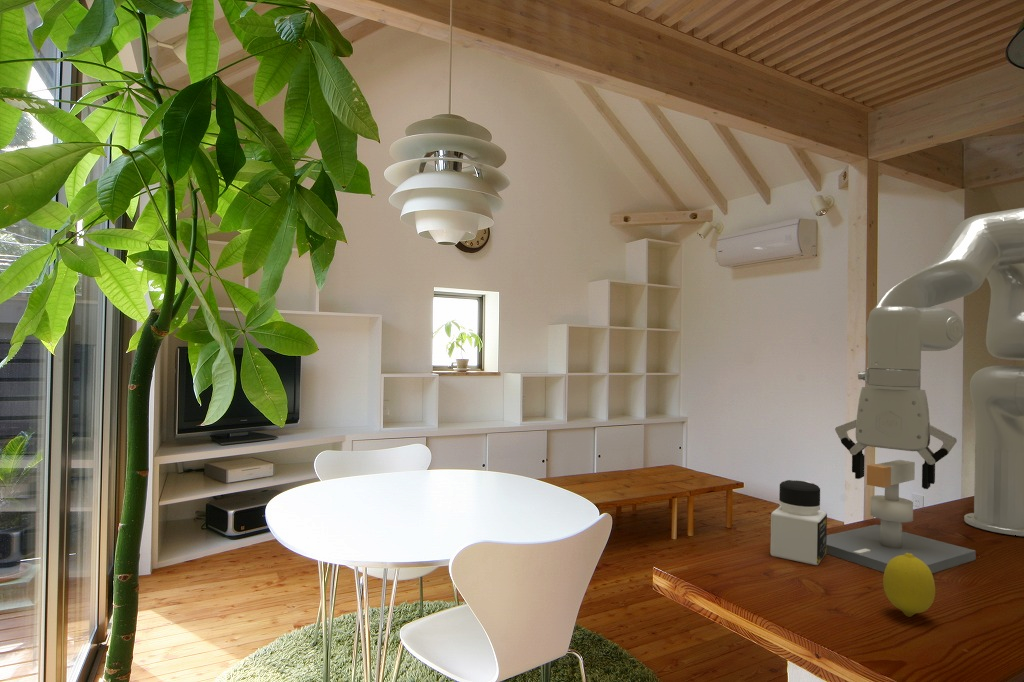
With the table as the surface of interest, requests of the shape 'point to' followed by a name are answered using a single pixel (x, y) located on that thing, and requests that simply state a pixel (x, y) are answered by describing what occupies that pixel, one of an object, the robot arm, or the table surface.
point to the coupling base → (894, 547)
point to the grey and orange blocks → (891, 490)
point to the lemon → (909, 584)
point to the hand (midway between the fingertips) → (891, 482)
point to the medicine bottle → (799, 523)
